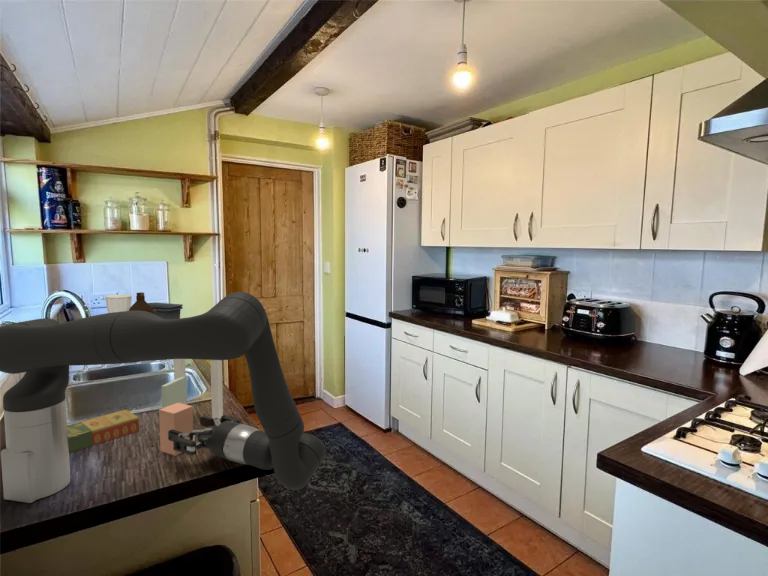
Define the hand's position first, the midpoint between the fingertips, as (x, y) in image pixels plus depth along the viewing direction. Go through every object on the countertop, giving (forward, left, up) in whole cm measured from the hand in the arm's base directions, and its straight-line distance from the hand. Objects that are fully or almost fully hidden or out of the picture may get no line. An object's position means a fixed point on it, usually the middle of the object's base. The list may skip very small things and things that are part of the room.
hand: (186, 427), depth 97 cm
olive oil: (+86, +85, -6) cm, 121 cm away
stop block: (+1, +3, -6) cm, 7 cm away
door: (+11, +11, -6) cm, 17 cm away
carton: (+2, +26, -7) cm, 27 cm away
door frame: (+16, +8, -6) cm, 19 cm away
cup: (+97, +107, -6) cm, 145 cm away
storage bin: (+119, +102, -6) cm, 157 cm away
